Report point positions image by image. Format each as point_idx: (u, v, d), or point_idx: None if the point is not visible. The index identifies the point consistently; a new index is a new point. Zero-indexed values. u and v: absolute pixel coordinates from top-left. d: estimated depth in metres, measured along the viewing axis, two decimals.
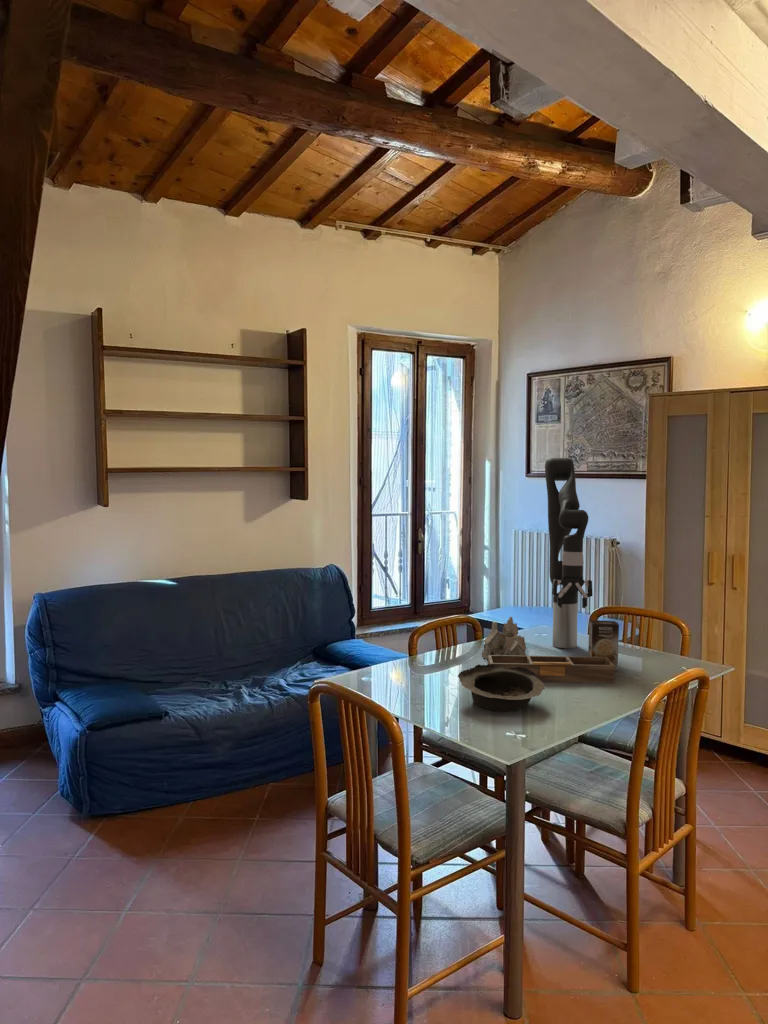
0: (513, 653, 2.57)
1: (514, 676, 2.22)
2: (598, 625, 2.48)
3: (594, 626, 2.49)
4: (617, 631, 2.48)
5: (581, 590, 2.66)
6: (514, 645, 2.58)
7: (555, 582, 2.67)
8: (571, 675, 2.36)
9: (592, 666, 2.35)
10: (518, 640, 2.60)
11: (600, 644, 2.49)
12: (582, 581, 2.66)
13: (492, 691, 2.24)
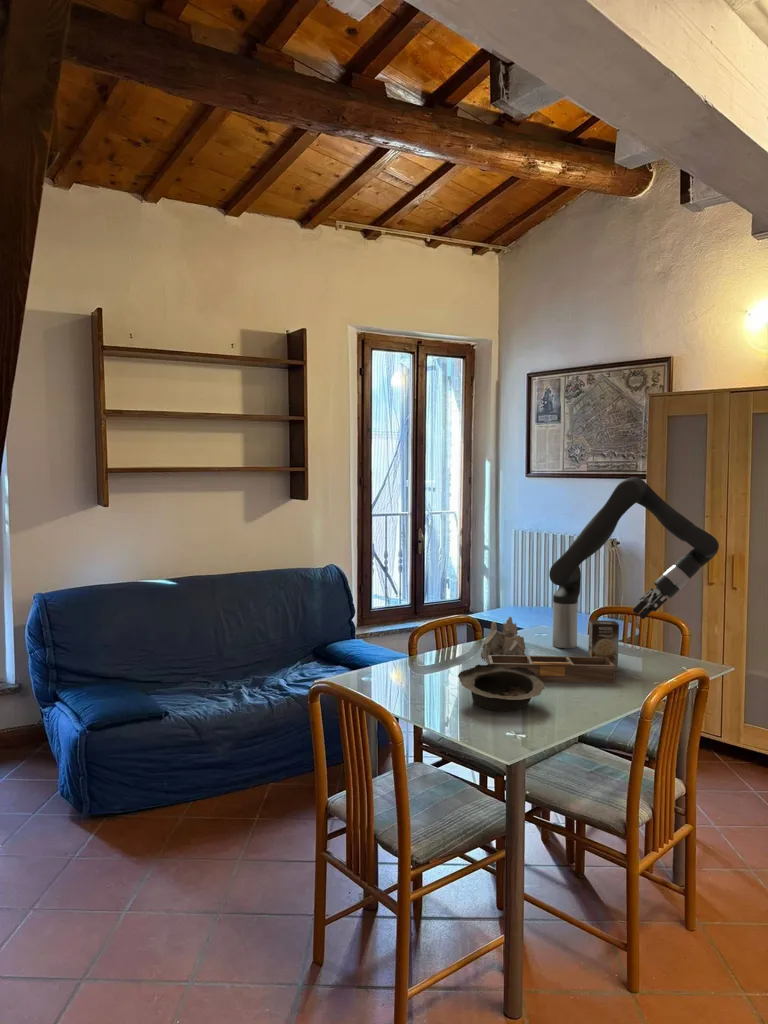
0: (512, 653, 2.57)
1: (514, 675, 2.22)
2: (598, 625, 2.48)
3: (594, 626, 2.49)
4: (617, 631, 2.48)
5: None
6: (513, 645, 2.58)
7: None
8: (571, 675, 2.36)
9: (592, 666, 2.35)
10: (517, 640, 2.60)
11: (600, 644, 2.49)
12: None
13: (492, 691, 2.24)
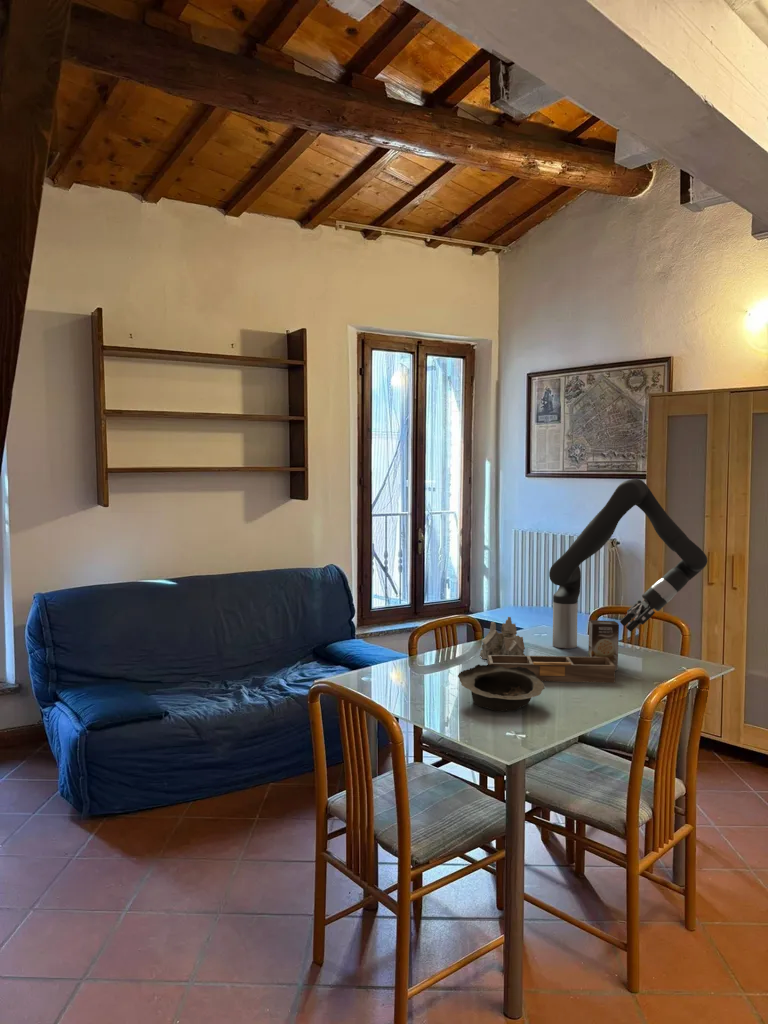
0: (512, 653, 2.57)
1: (514, 675, 2.22)
2: (598, 625, 2.48)
3: (594, 626, 2.49)
4: (617, 631, 2.48)
5: None
6: (513, 645, 2.58)
7: None
8: (571, 675, 2.36)
9: (592, 666, 2.35)
10: (517, 640, 2.60)
11: (600, 644, 2.49)
12: None
13: (492, 691, 2.24)
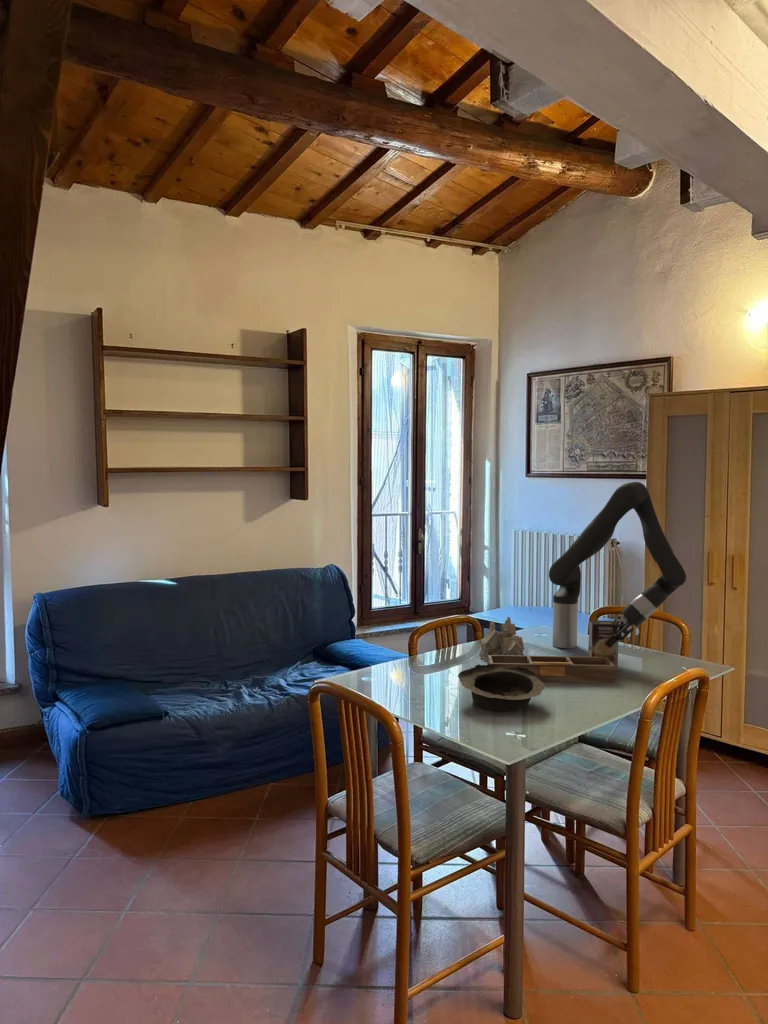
0: (511, 653, 2.57)
1: (514, 676, 2.22)
2: (598, 625, 2.48)
3: (594, 626, 2.49)
4: None
5: None
6: (512, 645, 2.58)
7: (631, 630, 2.44)
8: (571, 675, 2.36)
9: (592, 666, 2.35)
10: (516, 640, 2.60)
11: (600, 644, 2.49)
12: None
13: (492, 691, 2.24)
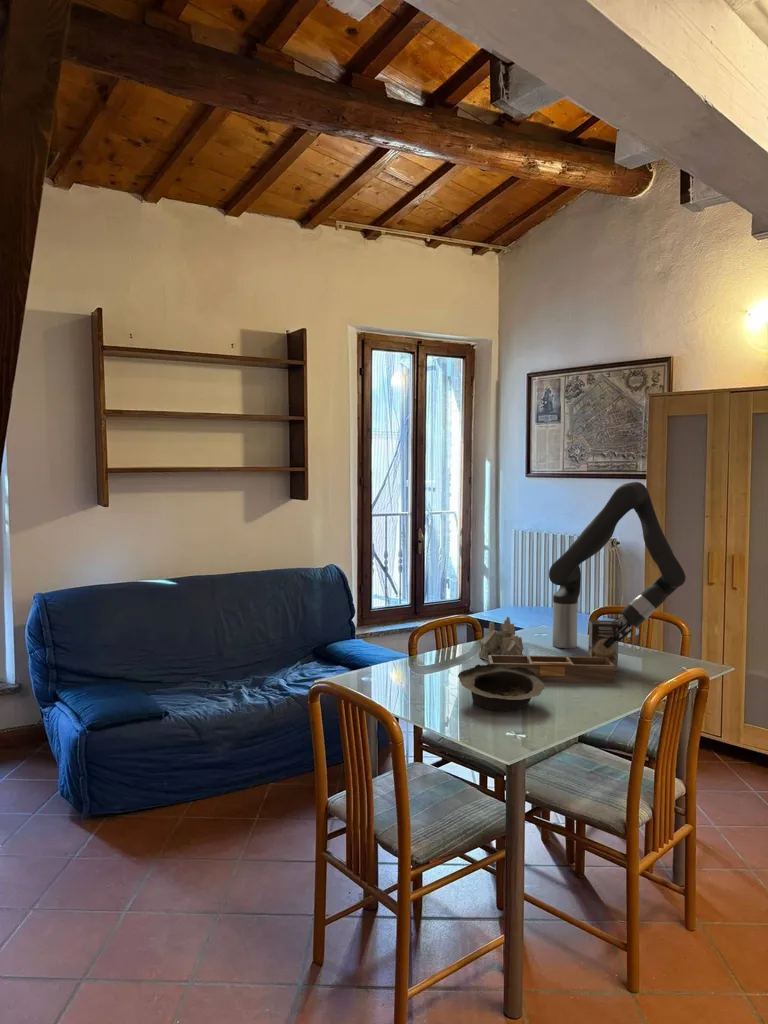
0: (510, 653, 2.56)
1: (514, 676, 2.22)
2: (598, 625, 2.48)
3: (594, 626, 2.49)
4: None
5: None
6: (511, 645, 2.58)
7: None
8: (571, 675, 2.36)
9: (592, 666, 2.35)
10: (515, 640, 2.60)
11: (600, 644, 2.49)
12: None
13: (492, 691, 2.24)
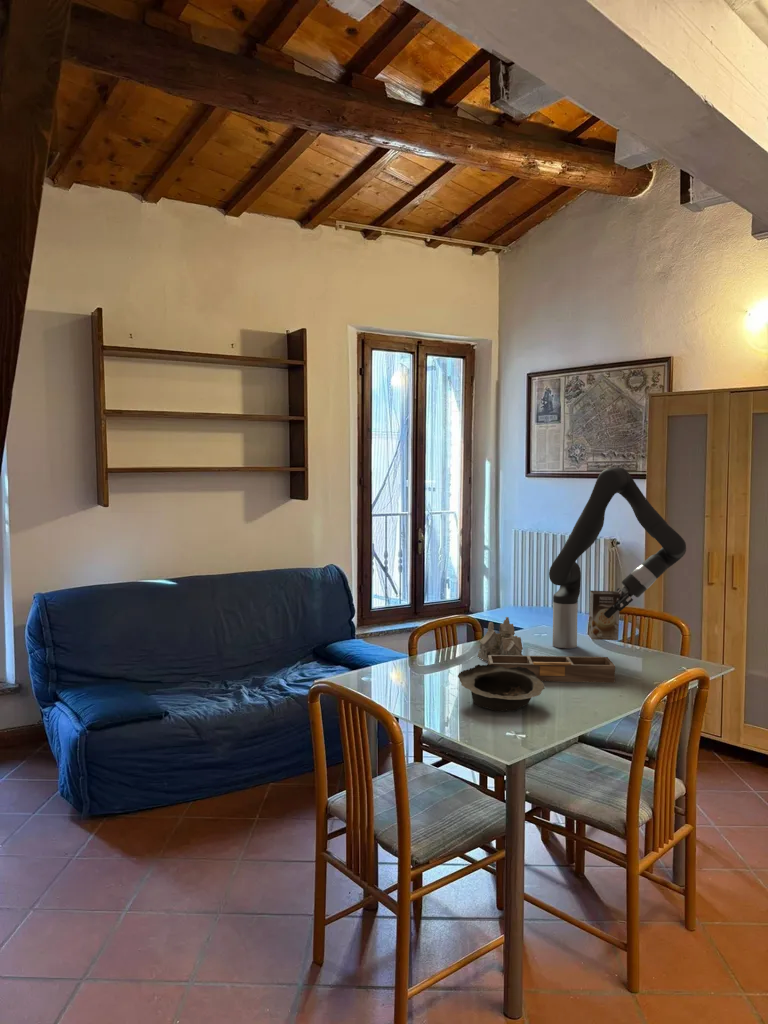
0: (510, 653, 2.56)
1: (514, 675, 2.22)
2: (599, 595, 2.48)
3: (595, 596, 2.48)
4: None
5: None
6: (511, 645, 2.58)
7: (630, 601, 2.44)
8: (571, 675, 2.36)
9: (592, 666, 2.35)
10: (515, 640, 2.59)
11: (600, 614, 2.48)
12: None
13: (492, 691, 2.24)
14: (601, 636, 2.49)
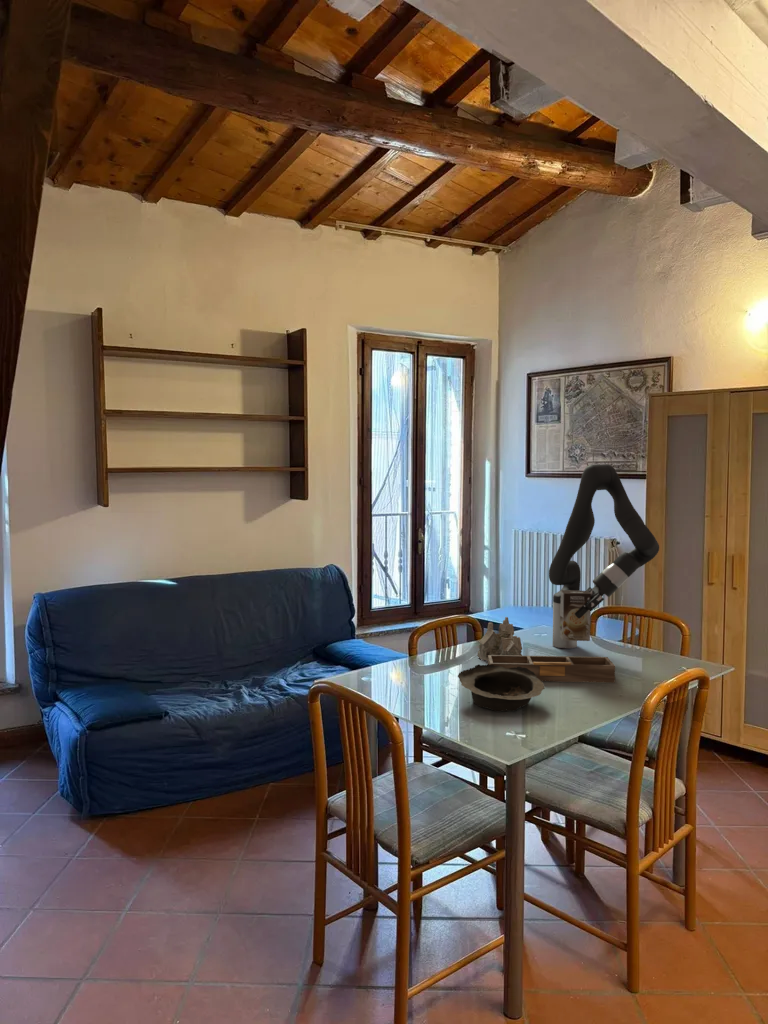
0: (509, 654, 2.56)
1: (514, 675, 2.22)
2: (570, 594, 2.41)
3: (565, 595, 2.41)
4: None
5: None
6: (510, 645, 2.58)
7: (601, 601, 2.37)
8: (571, 675, 2.36)
9: (592, 666, 2.35)
10: (514, 640, 2.59)
11: (571, 614, 2.42)
12: None
13: (492, 691, 2.24)
14: (572, 636, 2.42)
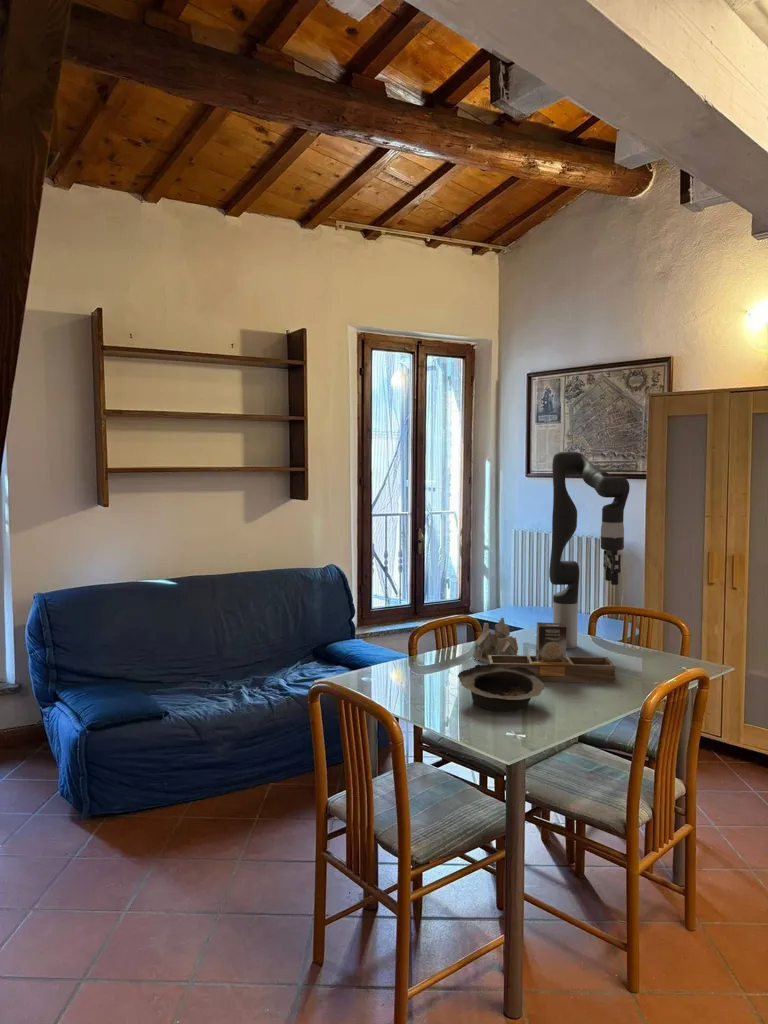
0: (505, 654, 2.56)
1: (514, 675, 2.22)
2: (545, 628, 2.38)
3: (541, 629, 2.38)
4: (564, 634, 2.37)
5: None
6: (506, 646, 2.57)
7: None
8: (571, 675, 2.36)
9: (592, 666, 2.35)
10: (510, 641, 2.59)
11: (547, 648, 2.38)
12: None
13: (492, 691, 2.24)
14: None
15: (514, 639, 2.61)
